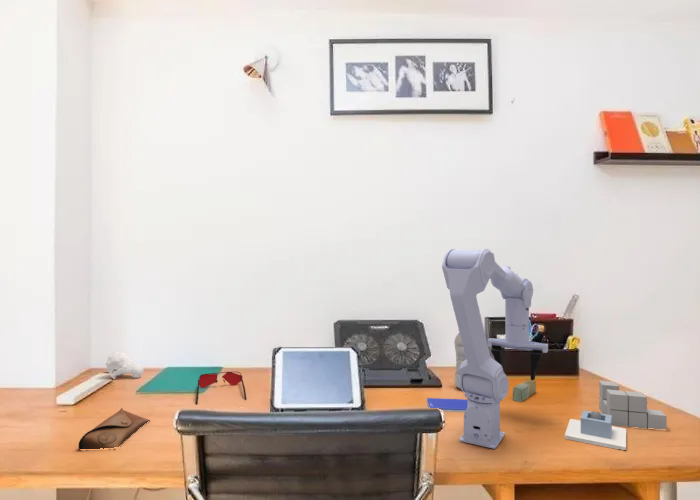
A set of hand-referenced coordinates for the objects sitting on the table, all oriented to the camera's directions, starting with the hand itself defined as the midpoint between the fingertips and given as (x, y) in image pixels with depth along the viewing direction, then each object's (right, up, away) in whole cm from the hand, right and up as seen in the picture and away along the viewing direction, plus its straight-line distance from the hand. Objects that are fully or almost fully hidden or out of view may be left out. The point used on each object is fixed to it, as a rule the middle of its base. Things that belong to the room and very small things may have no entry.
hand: (517, 377), depth 116 cm
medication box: (+9, -11, +17) cm, 22 cm away
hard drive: (-15, -11, +8) cm, 21 cm away
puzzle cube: (+29, -11, -1) cm, 31 cm away
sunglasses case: (-97, -11, -11) cm, 99 cm away
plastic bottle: (-7, -11, +24) cm, 28 cm away
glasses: (-82, -11, +19) cm, 85 cm away
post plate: (+14, -10, -11) cm, 21 cm away
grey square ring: (+14, -10, -11) cm, 21 cm away
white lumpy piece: (-119, -11, +36) cm, 125 cm away
